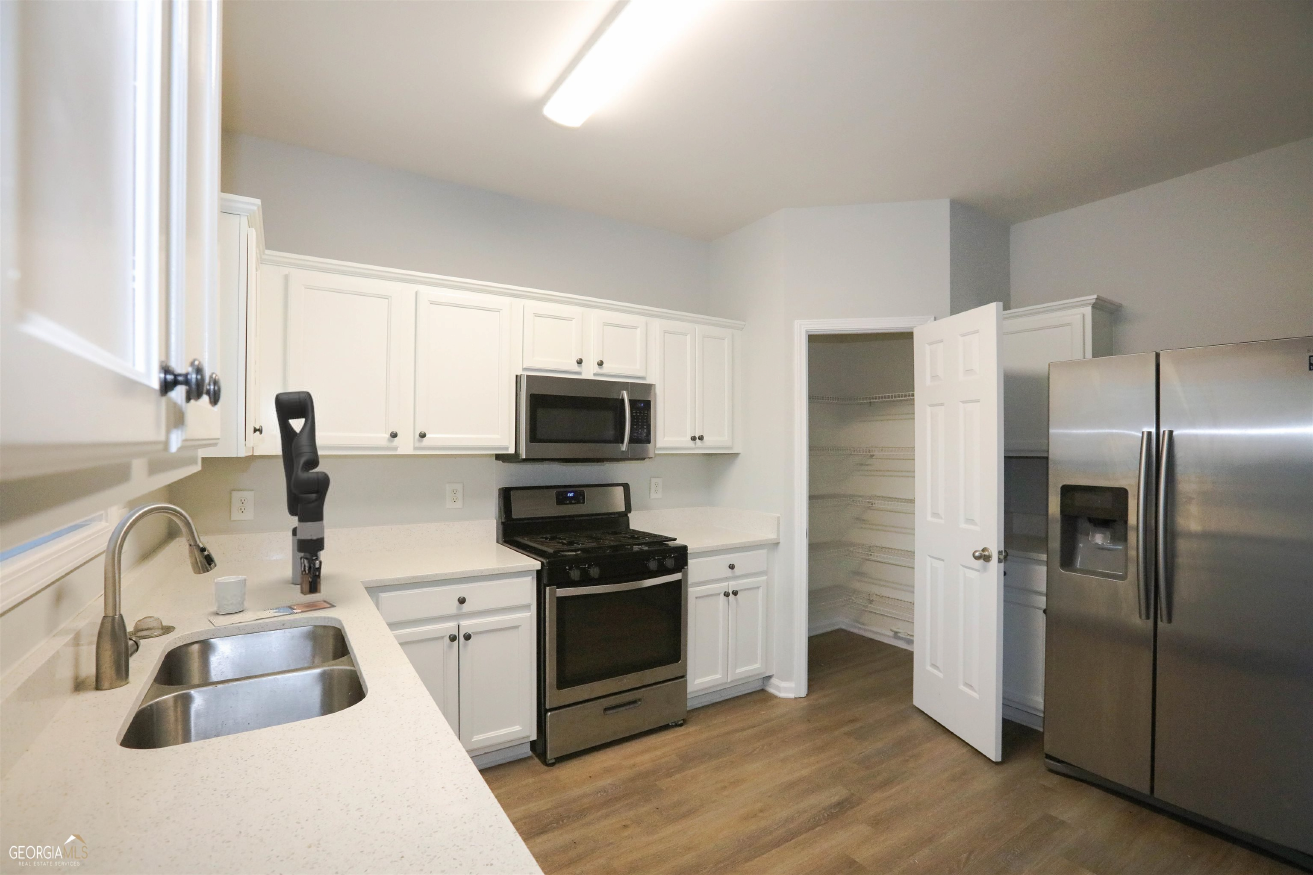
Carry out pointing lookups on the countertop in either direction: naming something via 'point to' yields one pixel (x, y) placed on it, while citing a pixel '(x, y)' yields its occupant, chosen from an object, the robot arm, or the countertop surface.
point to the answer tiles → (304, 607)
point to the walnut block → (307, 584)
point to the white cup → (230, 594)
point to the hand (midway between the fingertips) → (310, 591)
